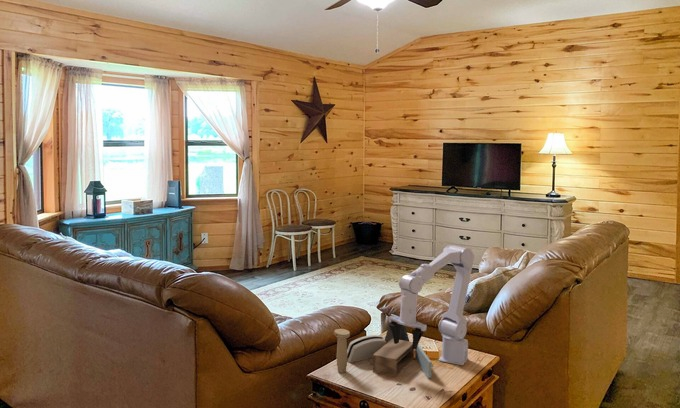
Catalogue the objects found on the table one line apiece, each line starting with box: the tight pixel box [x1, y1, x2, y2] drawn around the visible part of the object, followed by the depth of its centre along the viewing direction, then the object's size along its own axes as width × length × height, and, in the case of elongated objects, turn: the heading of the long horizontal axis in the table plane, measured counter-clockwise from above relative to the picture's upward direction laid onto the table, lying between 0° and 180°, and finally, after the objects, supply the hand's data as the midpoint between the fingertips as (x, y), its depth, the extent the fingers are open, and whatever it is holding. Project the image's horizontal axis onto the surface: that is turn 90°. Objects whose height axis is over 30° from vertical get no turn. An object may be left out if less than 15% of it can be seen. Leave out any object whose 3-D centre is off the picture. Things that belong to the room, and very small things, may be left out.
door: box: [414, 343, 434, 379], centre depth 207 cm, size 2×18×6 cm, turn 7°
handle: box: [333, 328, 351, 374], centre depth 203 cm, size 5×6×15 cm
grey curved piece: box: [347, 334, 386, 363], centre depth 217 cm, size 17×5×10 cm, turn 121°
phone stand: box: [384, 313, 410, 344], centre depth 232 cm, size 9×6×12 cm, turn 126°
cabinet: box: [372, 339, 415, 378], centre depth 210 cm, size 9×19×6 cm, turn 152°
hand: (405, 345), depth 201 cm, fingers open, 7 cm apart
